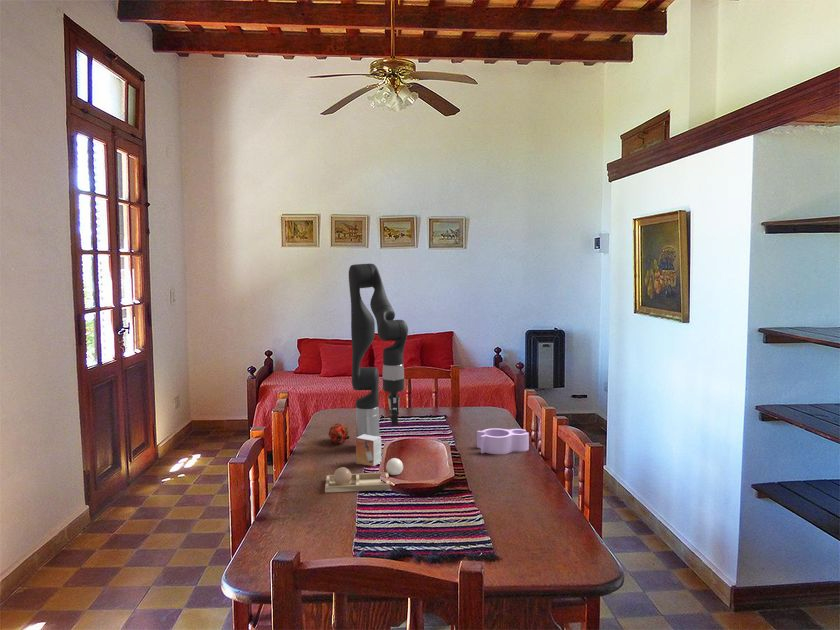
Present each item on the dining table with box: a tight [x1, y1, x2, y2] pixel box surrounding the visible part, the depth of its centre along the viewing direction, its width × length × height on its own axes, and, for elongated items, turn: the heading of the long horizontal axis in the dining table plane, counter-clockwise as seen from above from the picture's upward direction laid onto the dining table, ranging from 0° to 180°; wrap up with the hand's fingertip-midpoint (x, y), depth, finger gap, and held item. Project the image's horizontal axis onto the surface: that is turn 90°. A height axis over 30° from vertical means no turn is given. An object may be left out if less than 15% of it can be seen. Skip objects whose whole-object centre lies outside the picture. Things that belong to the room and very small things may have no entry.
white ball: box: [385, 457, 404, 476], centre depth 200 cm, size 6×6×6 cm
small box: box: [355, 434, 382, 467], centre depth 211 cm, size 8×6×10 cm
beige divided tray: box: [324, 471, 391, 494], centre depth 190 cm, size 11×21×2 cm, turn 96°
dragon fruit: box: [328, 422, 351, 445], centre depth 237 cm, size 8×8×12 cm
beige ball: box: [333, 466, 352, 486], centre depth 189 cm, size 6×6×6 cm
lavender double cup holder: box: [476, 427, 530, 455], centre depth 227 cm, size 20×12×7 cm, turn 97°
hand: (393, 422), depth 199 cm, fingers open, 8 cm apart
